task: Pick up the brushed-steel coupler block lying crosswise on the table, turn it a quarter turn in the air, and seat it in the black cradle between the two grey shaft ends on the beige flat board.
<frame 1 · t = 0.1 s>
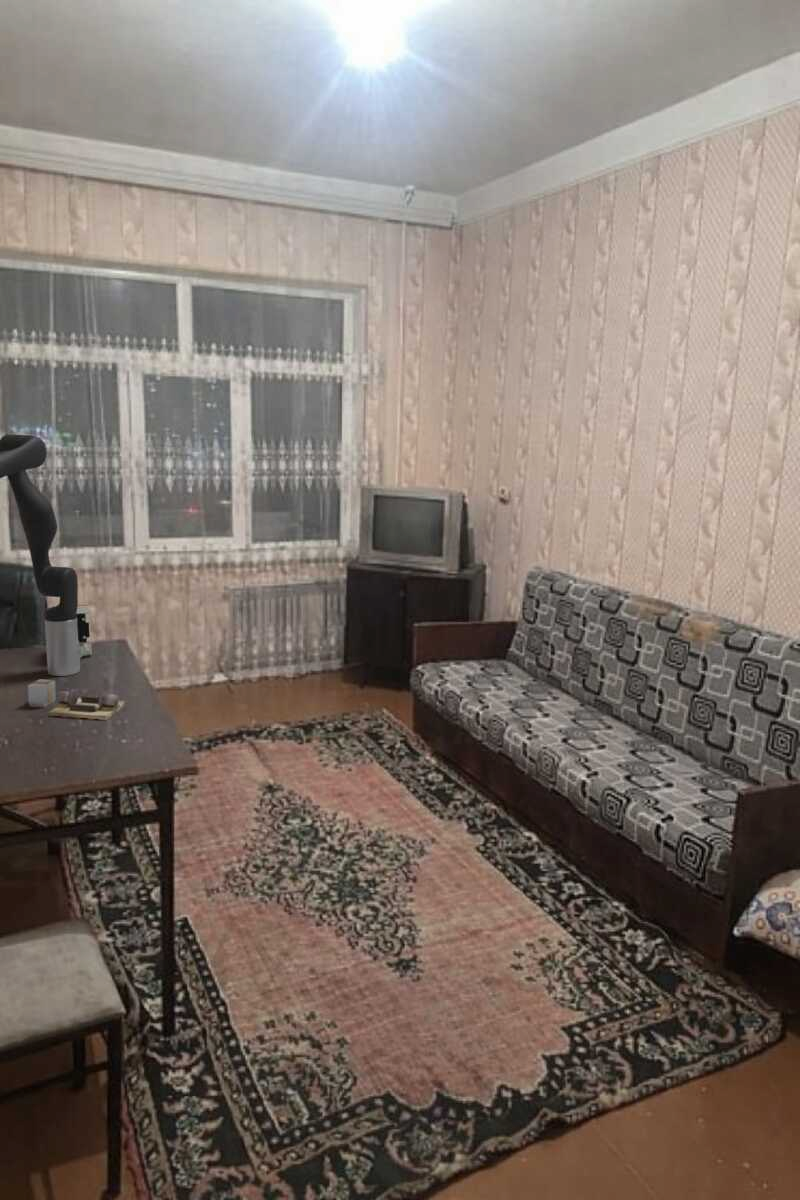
beige flat board: (88, 710, 228), on the table
coupler: (42, 703, 232), on the table
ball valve: (79, 657, 278), on the table
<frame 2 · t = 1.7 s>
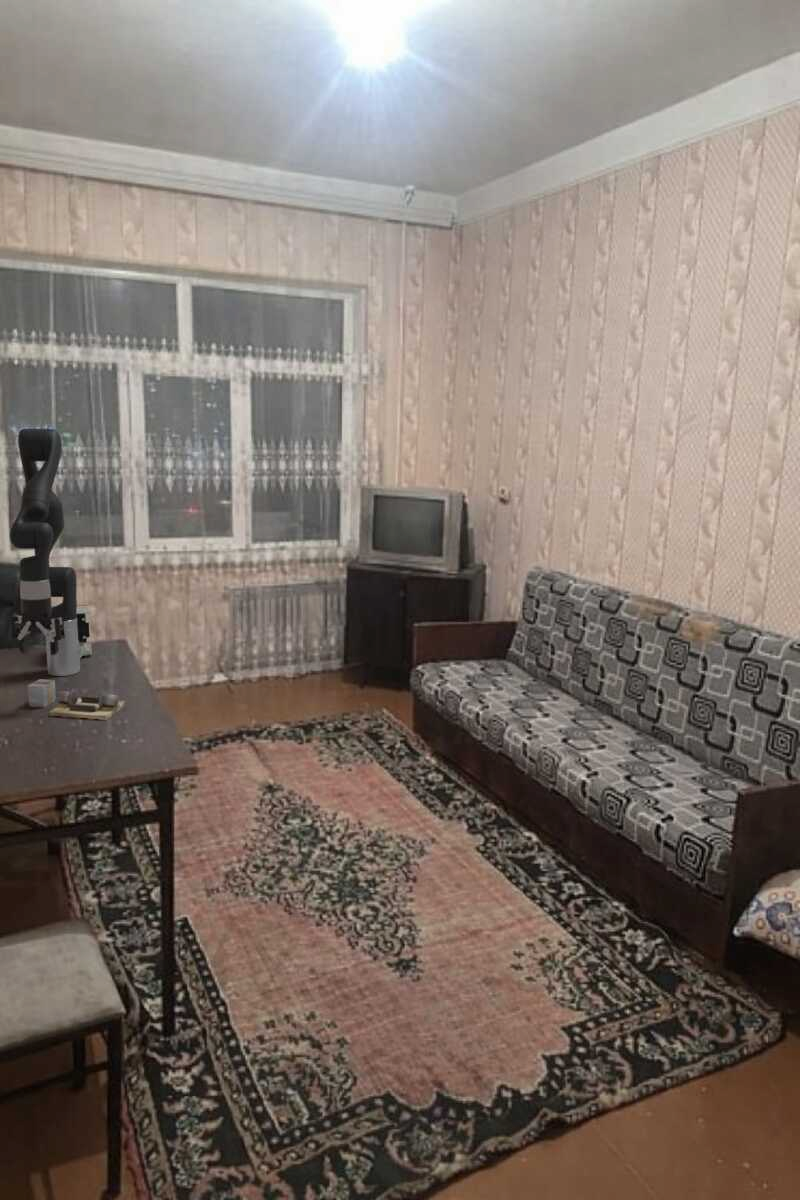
hand: (39, 653, 229), 14 cm above the table, tool pointing down, fingers open, 8 cm apart
nothing on the table moved.
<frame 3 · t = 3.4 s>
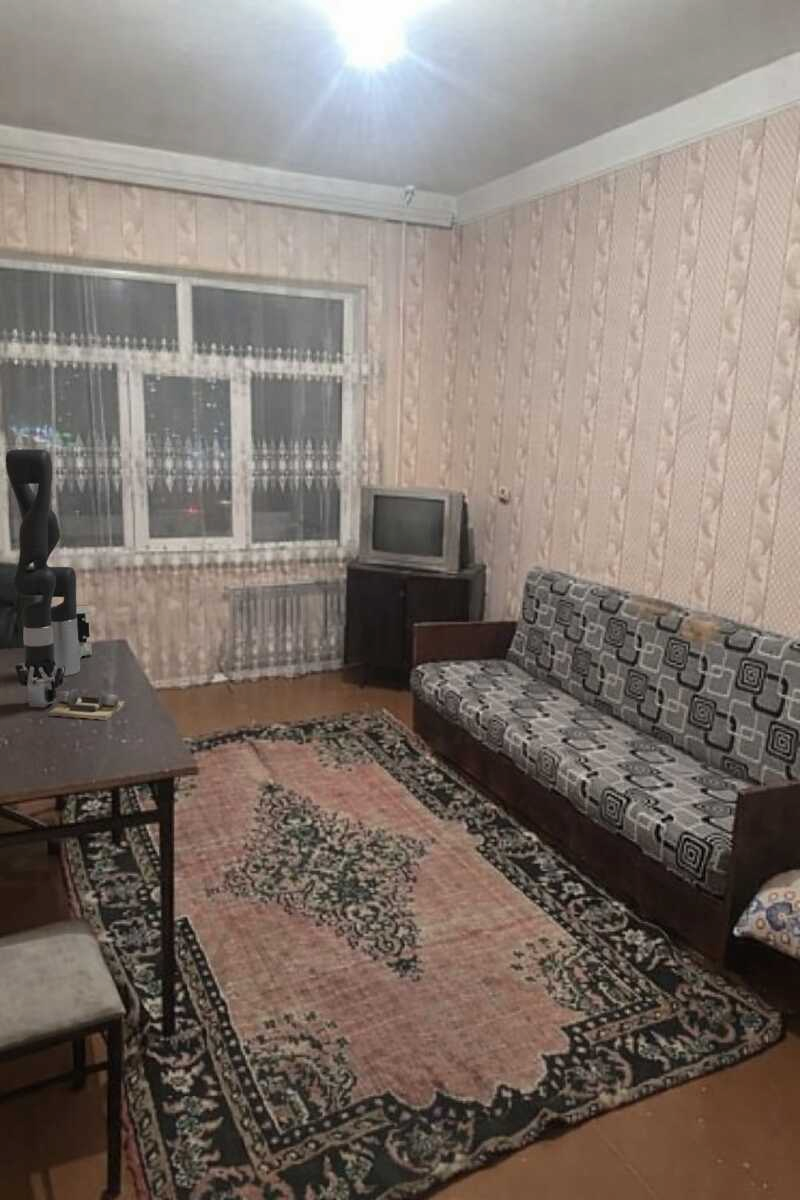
hand: (42, 700, 232), 1 cm above the table, tool pointing down, fingers closed on coupler, 4 cm apart
coupler: (42, 703, 232), on the table, touching gripper
everything else where it was.
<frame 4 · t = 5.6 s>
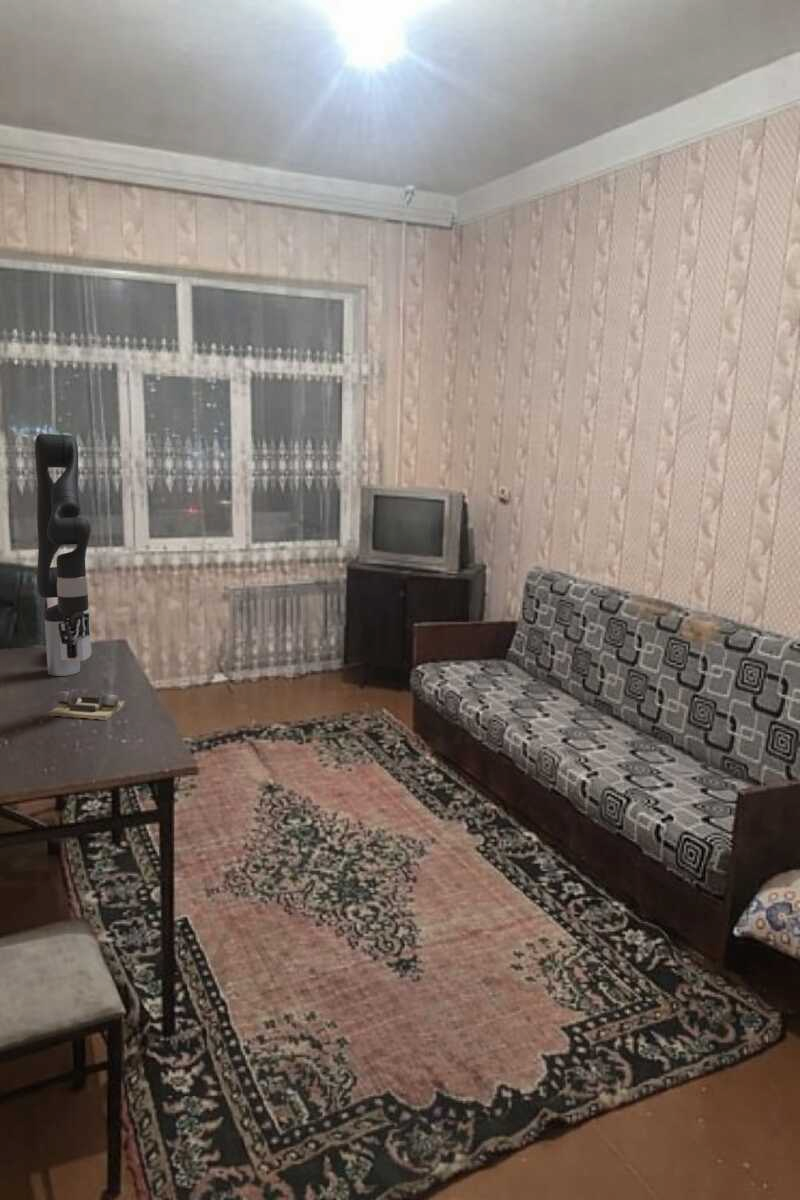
hand: (76, 655, 224), 16 cm above the table, tool pointing down, fingers closed on coupler, 4 cm apart
coupler: (76, 658, 224), point 15 cm above the table, touching gripper
everything else where it was.
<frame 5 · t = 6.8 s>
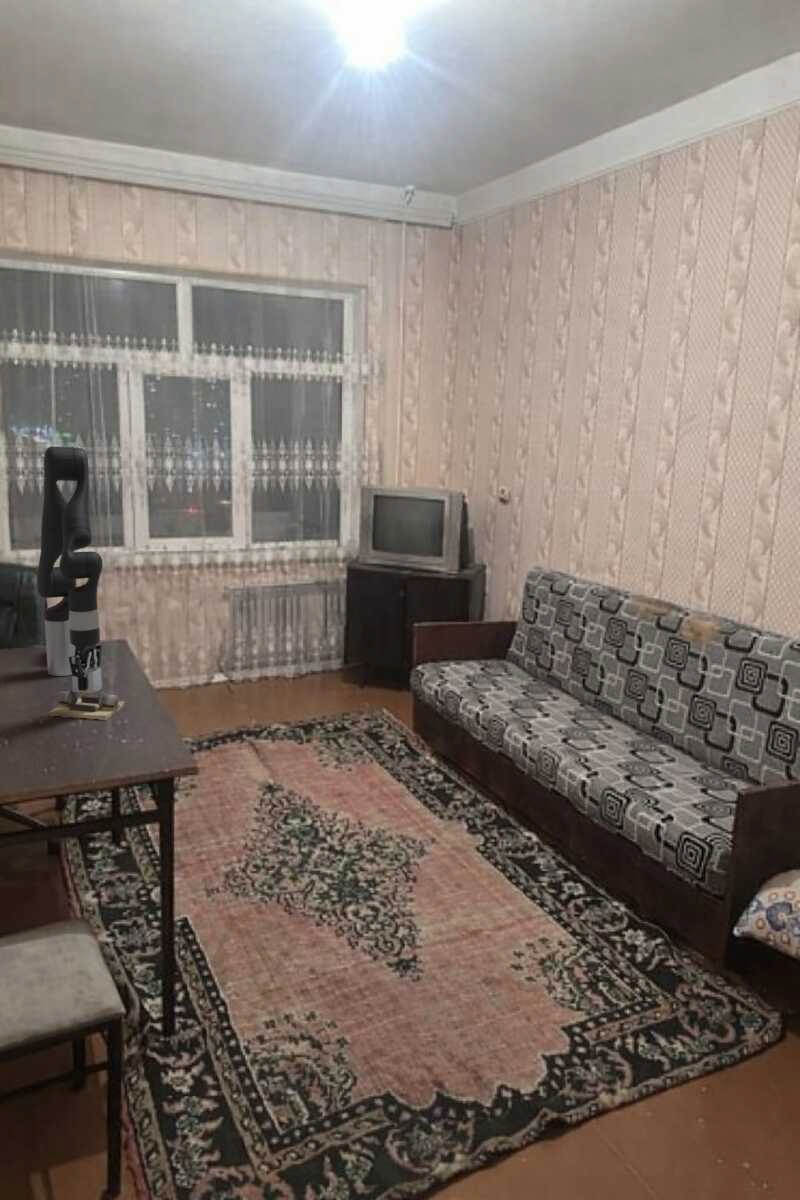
hand: (87, 686, 226), 7 cm above the table, tool pointing down, fingers closed on coupler, 4 cm apart
coupler: (87, 689, 226), point 6 cm above the table, touching gripper
everything else where it was.
when the fingers open (4 cm above the table, at t = 7.9 s): coupler drops 2 cm, resting on beige flat board.
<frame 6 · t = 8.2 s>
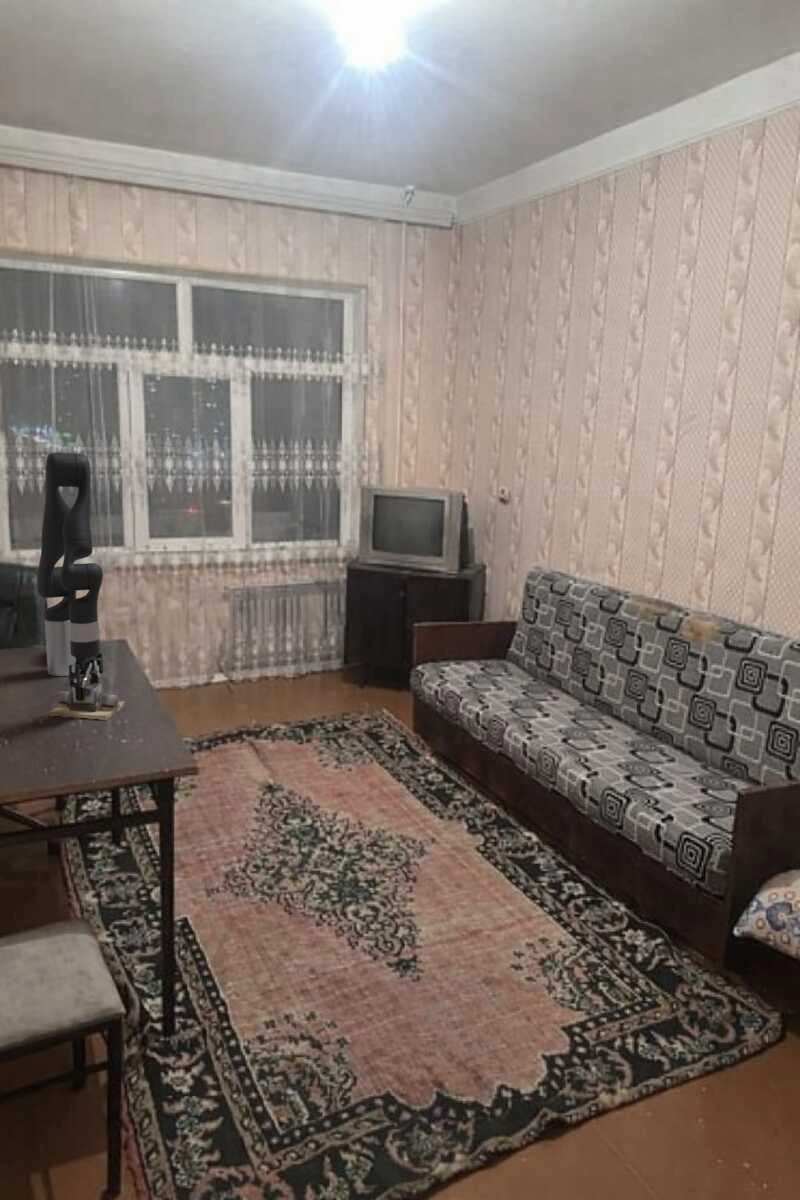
hand: (87, 695, 227), 4 cm above the table, tool pointing down, fingers open, 7 cm apart
coupler: (88, 706, 227), point 1 cm above the table, touching beige flat board
everything else where it was.
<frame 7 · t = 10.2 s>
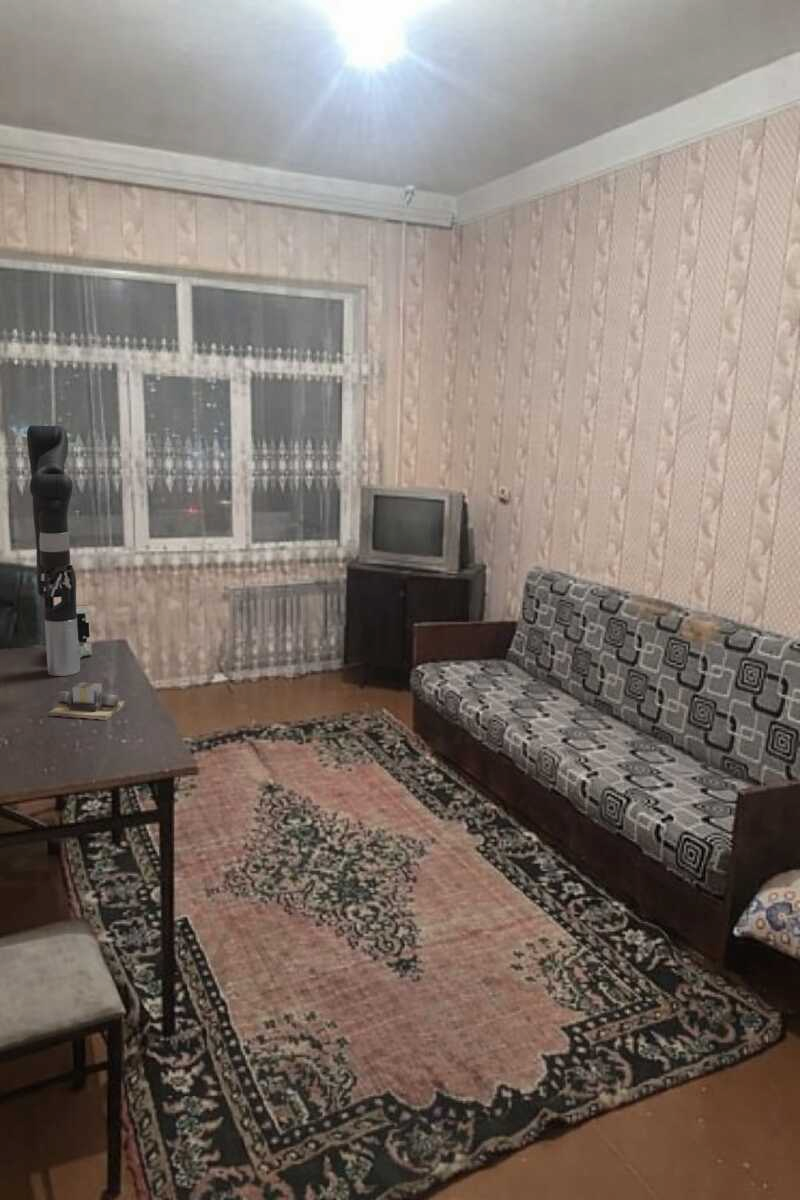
hand: (57, 605, 231), 27 cm above the table, tool pointing down, fingers open, 8 cm apart
nothing on the table moved.
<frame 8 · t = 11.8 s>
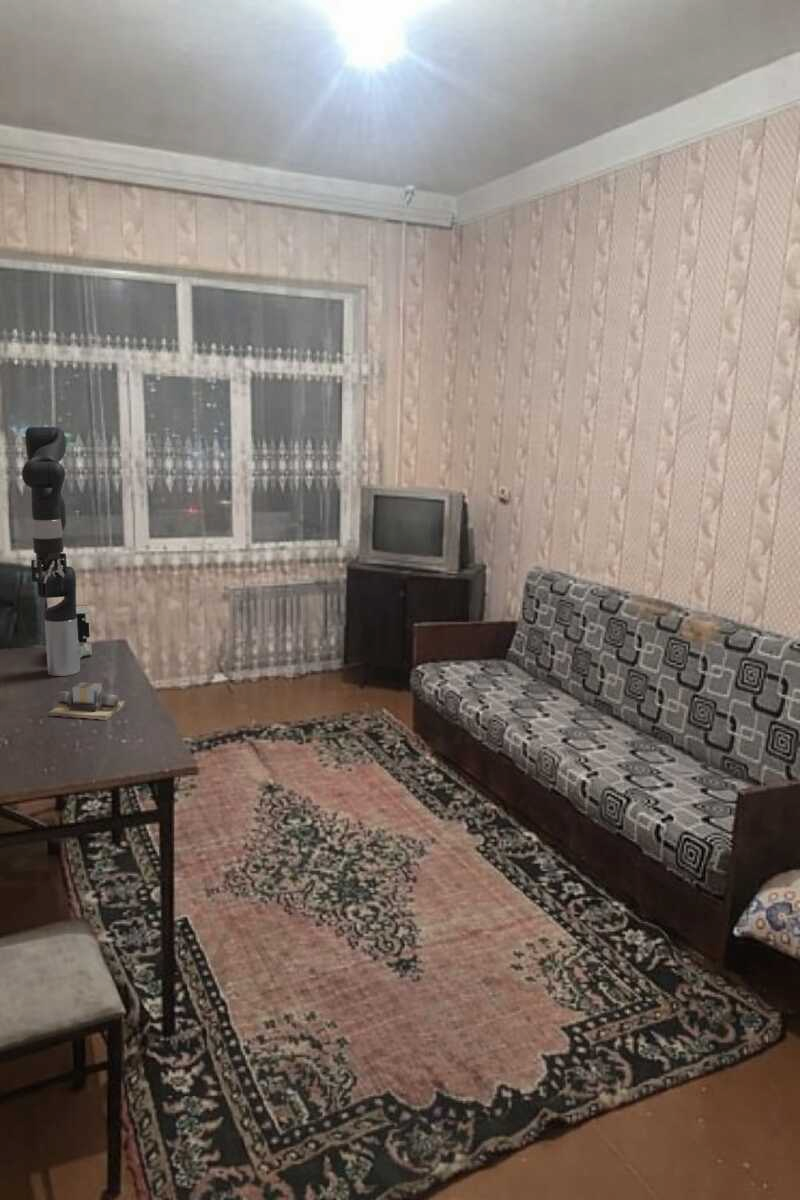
hand: (51, 593, 232), 30 cm above the table, tool pointing down, fingers open, 8 cm apart
nothing on the table moved.
at the end: coupler 0.1 cm off-centre on the beige flat board, point 1.2 cm above the beige flat board's base; coupler tilted 0°; the gripper is holding nothing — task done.
